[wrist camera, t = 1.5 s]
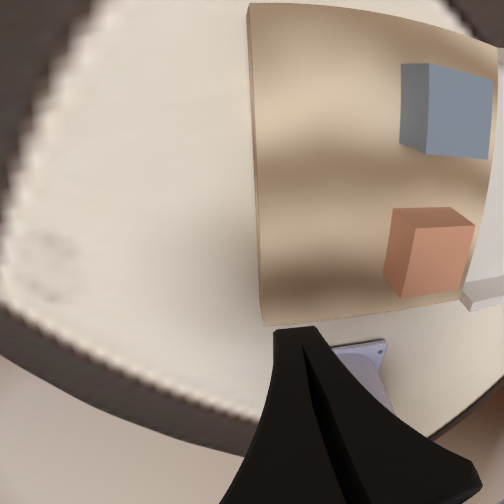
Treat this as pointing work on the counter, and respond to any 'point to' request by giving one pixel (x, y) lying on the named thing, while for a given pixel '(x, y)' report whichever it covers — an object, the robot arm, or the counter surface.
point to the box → (490, 225)
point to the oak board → (346, 154)
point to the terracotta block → (427, 250)
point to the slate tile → (445, 111)
